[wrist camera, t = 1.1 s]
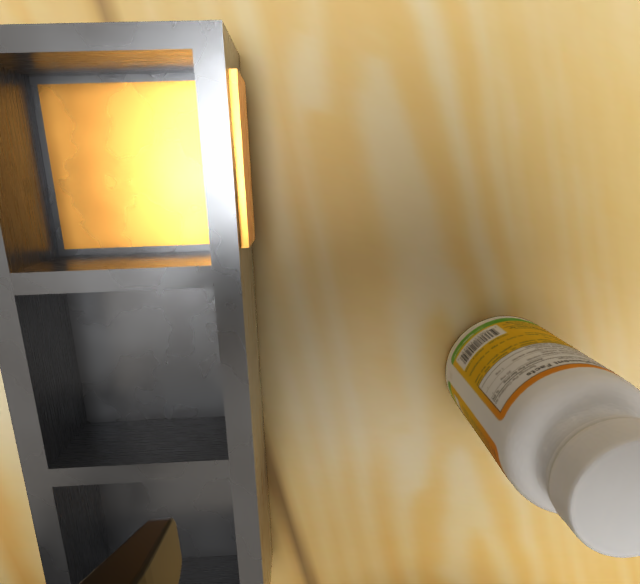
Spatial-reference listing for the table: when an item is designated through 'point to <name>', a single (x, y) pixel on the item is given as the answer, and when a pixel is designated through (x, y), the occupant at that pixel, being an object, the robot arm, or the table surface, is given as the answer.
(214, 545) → the compartment organizer tray
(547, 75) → the table surface
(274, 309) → the table surface
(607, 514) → the supplement bottle
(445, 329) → the table surface
